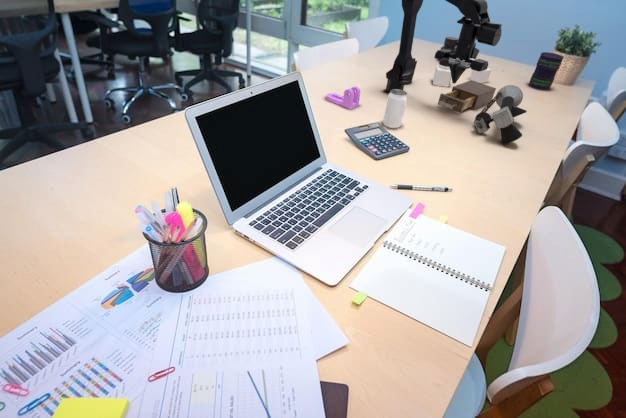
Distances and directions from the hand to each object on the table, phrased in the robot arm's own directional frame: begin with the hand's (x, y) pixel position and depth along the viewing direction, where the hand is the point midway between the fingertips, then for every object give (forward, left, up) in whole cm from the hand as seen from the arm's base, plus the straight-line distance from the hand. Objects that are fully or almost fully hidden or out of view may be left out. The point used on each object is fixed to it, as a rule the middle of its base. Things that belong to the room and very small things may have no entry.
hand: (453, 83), depth 147 cm
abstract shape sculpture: (+20, +3, -12) cm, 23 cm away
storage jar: (+10, +71, -12) cm, 73 cm away
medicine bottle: (-20, +29, -12) cm, 38 cm away
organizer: (0, +20, -12) cm, 24 cm away
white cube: (-12, +51, -12) cm, 54 cm away
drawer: (0, +7, -11) cm, 13 cm away
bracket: (-30, -29, -12) cm, 43 cm away
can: (-5, -29, -12) cm, 31 cm away
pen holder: (-32, +15, -12) cm, 37 cm away
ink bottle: (-39, +66, -12) cm, 78 cm away
